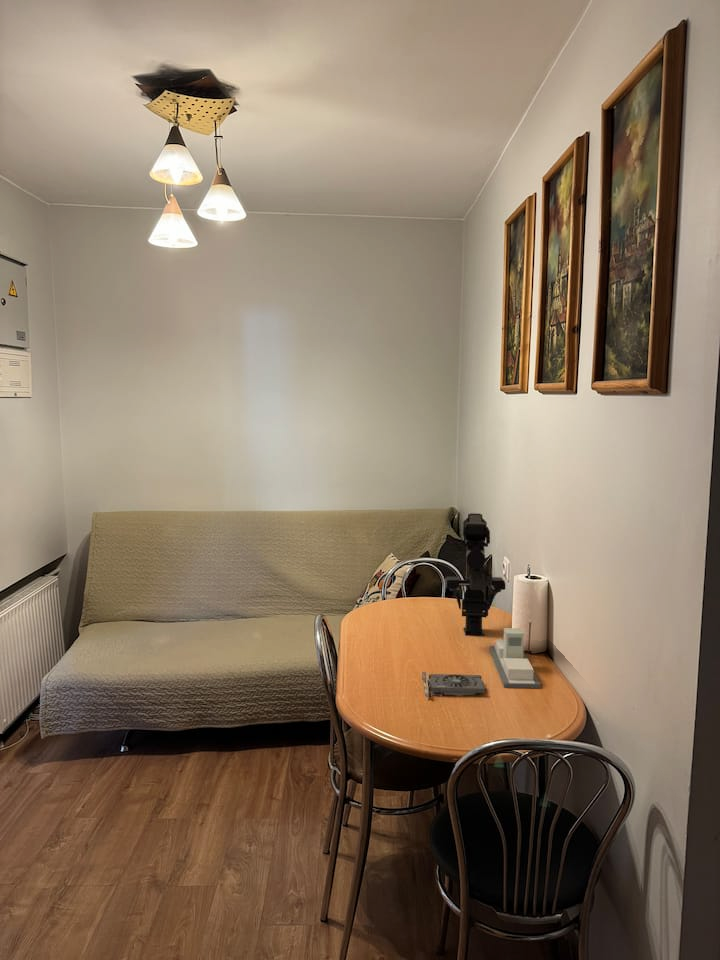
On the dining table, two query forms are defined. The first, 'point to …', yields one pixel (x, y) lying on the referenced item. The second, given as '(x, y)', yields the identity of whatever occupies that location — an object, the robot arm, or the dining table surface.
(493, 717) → the dining table surface
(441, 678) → the graphics card
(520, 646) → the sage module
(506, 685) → the board
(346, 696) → the dining table surface
